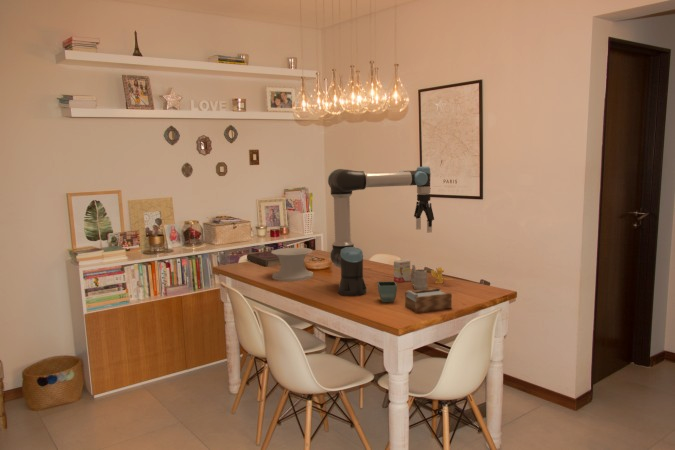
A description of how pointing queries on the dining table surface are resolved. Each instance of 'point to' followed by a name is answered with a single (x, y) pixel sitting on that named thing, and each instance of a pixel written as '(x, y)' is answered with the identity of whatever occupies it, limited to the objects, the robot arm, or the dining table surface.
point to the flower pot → (387, 291)
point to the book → (264, 258)
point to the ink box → (401, 270)
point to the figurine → (438, 275)
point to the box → (429, 302)
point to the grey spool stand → (292, 264)
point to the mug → (419, 278)
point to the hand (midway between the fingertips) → (423, 230)
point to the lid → (422, 294)
